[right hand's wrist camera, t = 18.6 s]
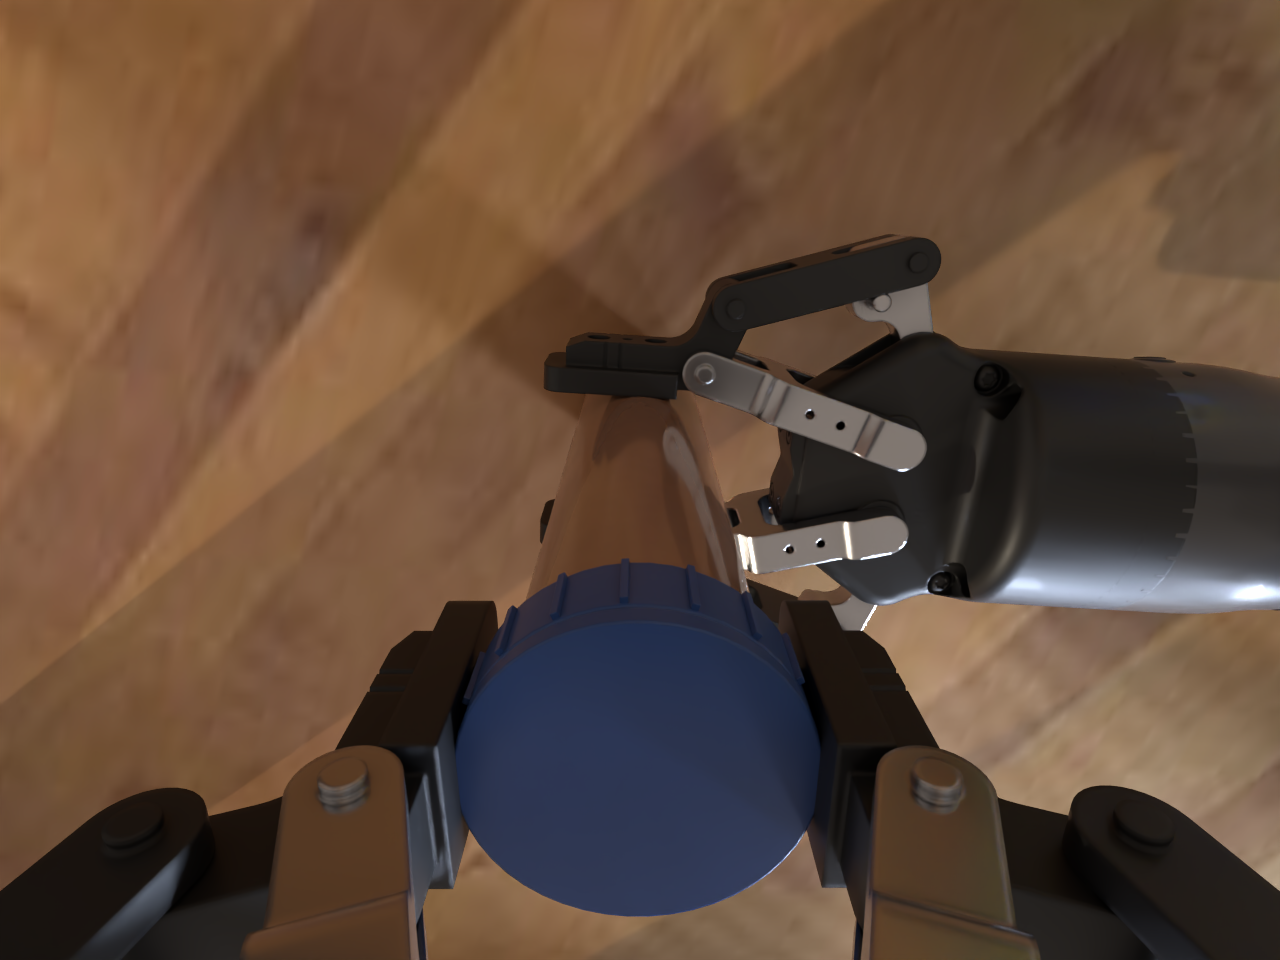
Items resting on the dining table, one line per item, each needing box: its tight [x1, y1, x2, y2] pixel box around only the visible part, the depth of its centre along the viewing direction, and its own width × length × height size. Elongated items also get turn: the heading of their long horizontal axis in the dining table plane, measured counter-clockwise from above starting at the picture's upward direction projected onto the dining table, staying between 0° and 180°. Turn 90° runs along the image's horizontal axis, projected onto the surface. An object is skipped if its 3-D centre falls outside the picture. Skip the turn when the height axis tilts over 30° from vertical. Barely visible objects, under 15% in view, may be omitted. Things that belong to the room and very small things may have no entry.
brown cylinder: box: [526, 390, 750, 600], centre depth 19 cm, size 4×4×19 cm
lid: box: [455, 558, 821, 916], centre depth 10 cm, size 5×5×2 cm
